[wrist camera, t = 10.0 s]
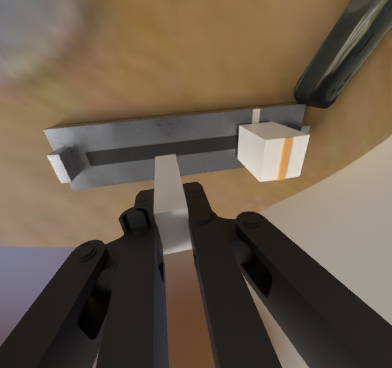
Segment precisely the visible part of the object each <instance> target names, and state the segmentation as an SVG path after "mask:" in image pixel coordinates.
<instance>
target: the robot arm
mask: <svg viewBox="0 0 392 368" xmlns="http://www.w3.org/2000/svg"><path fill="white" fill-rule="evenodd" d="M119 221H120V224H121V226H122V229H123V231H124V235H123V236H122V237H121V238H119V239H117V240H115V241H112V242H110V243H108V244H104V243H103V242H102V241H100V240H91V241H88V242H85V243H83V244H81V245H80V246H78V247H77V248H76V249H75V250H74V251H73V252H72V253H71V254H70V255H69V257H68V258H67V260H66V261H65V262H64V263H63V265H62V266H61V267H60V269H59V270H58V271H57V272H56V274H55V275H54V277H53V278H52V279H51V280H50V282H49V283H48V284H47V286H46V287H45V288H44V290H43V291H42V292H41V294H40V295H39V296H38V298H37V299H36V300H35V302H34V303H33V304H32V306H31V307H30V308H29V310H28V311H27V312H26V313H25V315H24V316H23V317H22V319H21V320H20V322H19V323H18V324H17V325H16V327H15V328H14V330H13V331H12V332H11V333H10V335H9V336H8V338H7V339H6V340H5V341H4V343H3V344H2V345H1V347H0V368H92V366H93V364H94V361H95V359H96V356H97V354H98V351H99V355H98V360H97V365H96V368H169V360H168V335H167V310H166V286H165V264H164V260H163V253H164V254H168V253H173V252H178V251H183V250H188V249H193V256H194V264H195V267H196V272H197V277H198V282H199V288H200V293H201V298H202V302H203V308H204V313H205V318H206V324H207V329H208V334H209V339H210V344H211V349H212V354H213V359H214V365H215V368H282V367H281V364H280V362H279V360H278V357H277V355H276V353H275V350H274V348H273V346H272V343H271V341H270V338H269V336H268V334H267V331H266V329H265V327H264V324H263V322H262V320H261V317H260V315H259V313H258V310H257V308H256V306H255V303H254V301H253V298H252V296H251V294H250V291H249V289H248V287H247V284H246V282H245V279H244V277H245V278H246V280H247V281H248V283H249V284H250V285H251V287H252V288H253V290H254V291H255V292H256V294H257V295H258V297H259V298H260V299H261V301H262V302H263V304H264V305H265V306H266V308H267V309H268V310H269V312H270V313H271V315H272V316H273V318H274V319H275V320H276V322H277V323H278V325H279V326H280V327H281V329H282V330H283V332H284V333H285V334H286V336H287V337H288V338H289V340H290V341H291V343H292V344H293V345H294V347H295V348H296V350H297V351H298V353H299V354H300V355H301V357H302V358H303V360H304V361H305V362H306V363H307V365H308V366H309V367H310V368H392V325H390V324H389V323H388V322H387V321H386V320H384V319H383V318H382V317H381V316H380V315H379V314H378V313H376V312H375V311H374V310H373V309H372V308H370V307H369V306H368V305H367V304H366V303H365V302H363V301H362V300H361V299H360V298H359V297H358V296H356V295H355V294H354V293H353V292H351V291H350V290H349V289H348V288H347V287H346V286H345V285H343V284H342V283H341V282H340V281H339V280H337V279H336V278H335V277H334V276H333V275H331V274H330V273H329V272H328V271H327V270H326V269H325V268H323V267H322V266H321V265H320V264H319V263H318V262H316V261H315V260H314V259H313V258H311V256H309V255H308V254H307V253H306V252H305V251H303V250H302V249H301V248H300V247H299V246H298V245H296V244H295V243H294V242H293V241H292V240H290V239H289V238H288V237H287V236H286V235H285V234H283V233H282V232H281V231H280V230H279V229H277V228H276V227H275V226H274V225H273V224H272V223H271V222H269V221H268V220H267V219H266V218H265V217H263V216H262V215H260V214H259V213H255V212H249V211H247V212H242V213H240V214H239V215H238V216H237V218H236V219H225V218H221V217H219V216H217V215H216V213H215V212H213V211H212V209H211V207H210V204H209V202H208V200H207V197H206V195H205V192H204V190H203V187H202V185H201V184H199V183H198V182H192V183H185V184H182V181H181V177H180V172H179V168H178V163H177V159H176V155H175V154H171V155H164V156H156V157H155V182H154V189H150V190H144V191H140V192H139V193H138V195H137V196H136V199H135V205H134V207H132V208H130V209H128V210H126V211H124V212H123V213H122V214H121V215H120V217H119ZM242 274H243V275H242ZM243 276H244V277H243ZM99 349H100V350H99Z"/></svg>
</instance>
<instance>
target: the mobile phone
mask: <svg viewBox="0 0 392 368" xmlns="http://www.w3.org/2000/svg"><path fill="white" fill-rule="evenodd" d="M391 28H392V0H352V1H351V2H350V4H349V5H348V6H347V8H346V10H345V11H344V13H343V14H342V16H341V17H340V19H339V21H338V22H337V24H336V25H335V27H334V28H333V30H332V31H331V33H330V34H329V36H328V37H327V38H326V40H325V41H324V42H323V44H322V45H321V47H320V49H319V50H318V52H317V53H316V55H315V56H314V58H313V59H312V61H311V62H310V64H309V65H308V67H307V68H306V70H305V72H304V73H303V75H302V76H301V78H300V79H299V81H298V83H297V85H296V87H295V91H294V97H295V99H296V100H297V101H298V102H299V103H304V104H306V105H307V106H313V107H317V108H322V109H326V108H328V107H329V106H330V105H332V104H333V103H334V101H335V100H336V98H337V97H338V95H339V94H340V92H341V91H342V90H343V88H344V87H345V86H346V84H347V83H348V82H349V81H350V79H351V78H352V77H353V75H354V74H355V73H356V72H357V70H358V69H359V68H360V67H361V66H362V64H363V63H364V62H365V60H366V59H367V58H368V56H369V55H370V54H371V52H372V51H373V50H374V48H375V47H376V46H377V44H378V43H379V42H380V40H381V39H382V38H383V37H384V36H385V34H386V33H387V32H388V31H389V30H390V29H391Z"/></svg>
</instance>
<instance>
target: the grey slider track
mask: <svg viewBox="0 0 392 368" xmlns="http://www.w3.org/2000/svg"><path fill="white" fill-rule="evenodd" d="M305 108H306V104H304V103H297V102H292V103H282V104H271V105H261V106H251V107H241V108H230V109H220V110H210V111H200V112H189V113H179V114H169V115H159V116H148V117H138V118H128V119H118V120H107V121H97V122H87V123H77V124H66V125H56V126H52V127H49V128H47V129H44V130H43V131H44V133H45V135H46V137H47V139H48V141H49V143H50V145H51V147H52V149H53V151H54V152H52V153H51V154H49V155H47V157H48V159H49V160H50V162H51V164H52V166H53V168H54V170H55V172H56V174H57V176H58V178H59V180H60V182H61V183H67V182H69V184H70V186H71V188H72V190H79V189H86V188H93V187H101V186H108V185H116V184H123V183H131V182H138V181H146V180H153V179H155V157H156V156H164V155H171V154H175V155H176V159H177V163H178V168H179V172H180V176H183V175H191V174H198V173H206V172H213V171H221V170H228V169H236V168H243V167H245V166H244V165H243V164H242V163H241V162H240V161H239V160H238V159H237V158H238V138H239V125H247V124H256V123H266V122H275V123H278V124H281V125H284V126H286V127H289V128H292V129H295V130H298V131H300V132H303V133H306V134H308V133H309V129H310V126H309V125H306V124H302V121H303V117H304V112H305Z"/></svg>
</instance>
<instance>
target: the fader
mask: <svg viewBox="0 0 392 368" xmlns="http://www.w3.org/2000/svg"><path fill="white" fill-rule="evenodd" d="M309 137H310V135H309V134H306V133H303V132H300V131H298V130H295V129H292V128H289V127H286V126H284V125H281V124H278V123H275V122H266V123H256V124H247V125H239V138H238V158H237V159H238V160H239V161H240V162H241V163H242V164H243V165H244V166H245V167H246V168H247V169H248V170H249V171H250V172H251V173H252V174H253V175H254V176H255V177H256V178H257V179H258V180H259V181H260V182H264V181H271V180H278V181H279V180H284V179H285V178H292V177H299V176H300V173H301V169H302V165H303V161H304V157H305V153H306V149H307V145H308V141H309Z"/></svg>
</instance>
